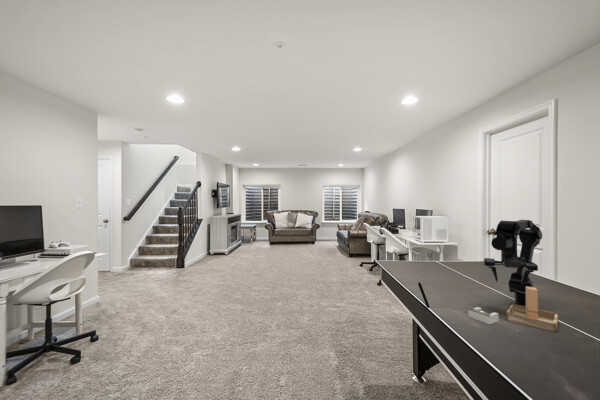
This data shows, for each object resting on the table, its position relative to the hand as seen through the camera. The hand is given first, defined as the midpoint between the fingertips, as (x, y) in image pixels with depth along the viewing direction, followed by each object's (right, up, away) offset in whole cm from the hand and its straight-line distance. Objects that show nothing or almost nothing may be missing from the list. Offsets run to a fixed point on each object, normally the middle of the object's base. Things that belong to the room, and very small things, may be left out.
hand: (509, 283), depth 119 cm
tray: (+2, -13, -10) cm, 16 cm away
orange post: (+2, -12, -10) cm, 16 cm away
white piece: (-17, -13, -8) cm, 23 cm away
